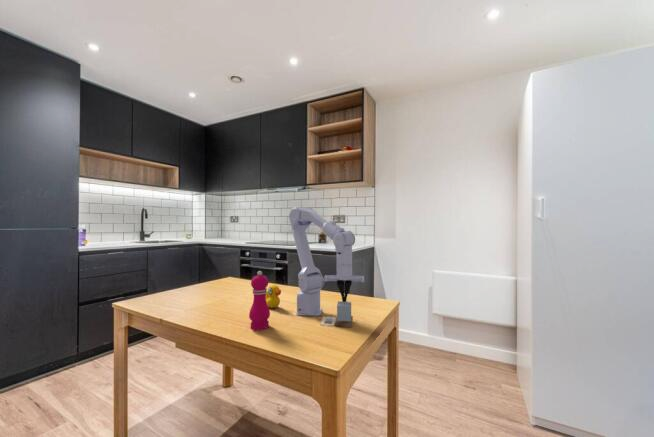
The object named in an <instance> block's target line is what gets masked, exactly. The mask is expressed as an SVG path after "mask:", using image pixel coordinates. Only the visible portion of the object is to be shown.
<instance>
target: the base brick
mask: <svg viewBox="0 0 654 437" xmlns="http://www.w3.org/2000/svg"><path fill="white" fill-rule="evenodd" d="M335 317H336V321H335V327H336V328H337V327H338V328H339V327H340V328H353V321H354V320H353V318H354V317H353V315H351V321H337V316H335Z"/></svg>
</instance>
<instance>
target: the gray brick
mask: <svg viewBox="0 0 654 437" xmlns="http://www.w3.org/2000/svg"><path fill="white" fill-rule="evenodd" d="M351 316H352V301H346V302H342V301H337V304H336V317H337V321H351Z"/></svg>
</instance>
